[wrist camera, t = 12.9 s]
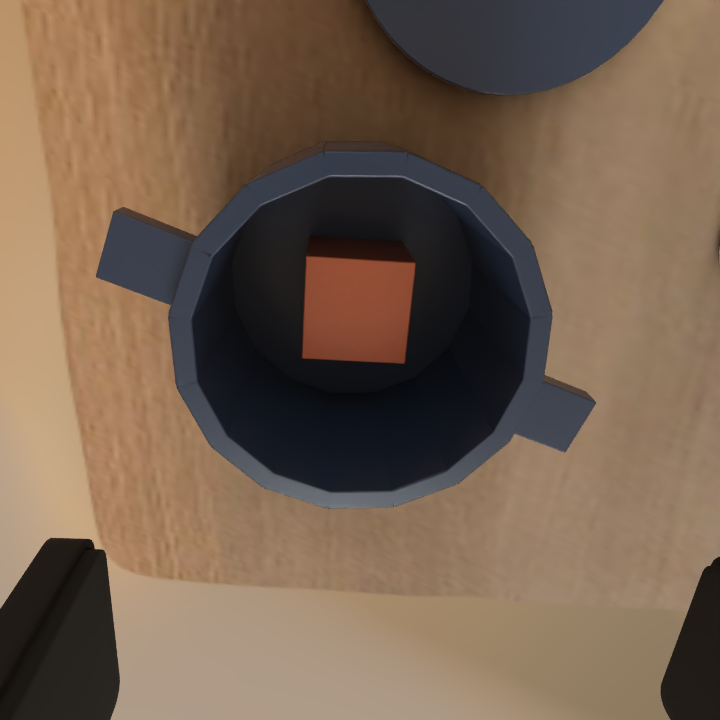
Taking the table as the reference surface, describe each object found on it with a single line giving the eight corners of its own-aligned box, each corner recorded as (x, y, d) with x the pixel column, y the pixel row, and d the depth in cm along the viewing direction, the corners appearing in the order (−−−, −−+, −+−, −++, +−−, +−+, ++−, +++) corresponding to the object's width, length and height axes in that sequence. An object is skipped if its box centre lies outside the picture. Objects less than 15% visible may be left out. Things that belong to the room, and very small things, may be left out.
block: (305, 325, 30) (301, 359, 26) (309, 235, 28) (305, 255, 24) (394, 330, 30) (405, 364, 26) (403, 241, 28) (416, 262, 24)
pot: (459, 449, 33) (506, 567, 25) (132, 331, 30) (50, 419, 21) (579, 231, 29) (688, 279, 20) (214, 63, 26) (154, 34, 17)
